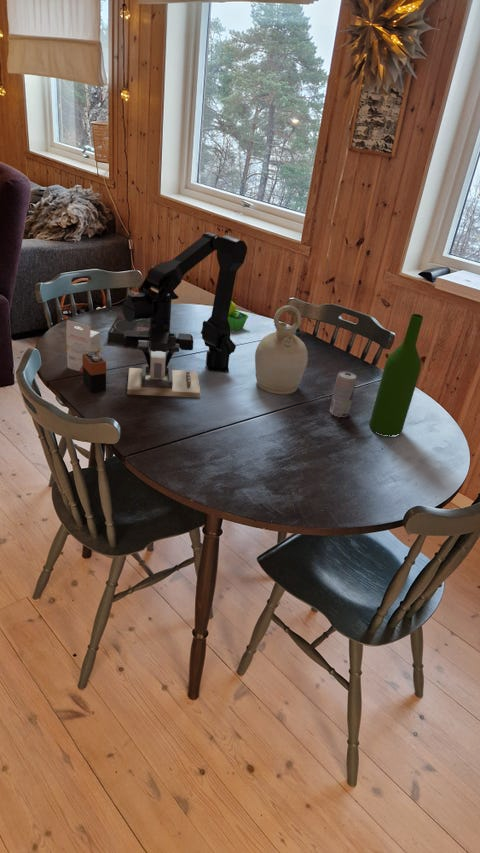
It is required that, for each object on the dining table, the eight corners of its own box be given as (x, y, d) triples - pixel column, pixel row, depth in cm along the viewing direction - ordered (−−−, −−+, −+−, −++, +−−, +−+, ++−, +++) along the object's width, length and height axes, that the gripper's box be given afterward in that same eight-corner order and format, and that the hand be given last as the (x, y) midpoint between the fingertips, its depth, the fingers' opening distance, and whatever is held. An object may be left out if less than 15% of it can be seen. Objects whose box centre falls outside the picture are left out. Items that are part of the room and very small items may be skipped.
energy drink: (349, 411, 161) (358, 373, 155) (346, 419, 157) (355, 381, 151) (331, 407, 162) (339, 369, 156) (327, 414, 158) (336, 376, 152)
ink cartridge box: (101, 369, 166) (101, 322, 158) (91, 375, 162) (90, 327, 154) (77, 362, 168) (75, 315, 161) (66, 368, 164) (64, 319, 157)
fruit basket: (248, 328, 210) (251, 299, 205) (231, 333, 204) (235, 303, 199) (226, 319, 217) (229, 290, 211) (209, 323, 211) (212, 293, 205)
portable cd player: (160, 349, 185) (160, 338, 183) (108, 343, 184) (108, 332, 182) (166, 331, 199) (167, 321, 197) (117, 326, 198) (118, 315, 196)
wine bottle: (400, 424, 158) (434, 313, 142) (402, 440, 150) (437, 324, 134) (368, 418, 159) (398, 307, 143) (368, 433, 151) (399, 318, 135)
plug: (164, 369, 163) (165, 350, 160) (164, 379, 157) (165, 359, 154) (150, 368, 162) (151, 349, 159) (150, 378, 156) (150, 359, 153)
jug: (256, 371, 178) (267, 293, 166) (304, 380, 176) (319, 303, 164) (246, 391, 165) (258, 309, 152) (298, 401, 163) (314, 319, 151)
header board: (196, 375, 170) (197, 365, 168) (199, 397, 158) (201, 386, 156) (129, 372, 166) (129, 361, 165) (127, 394, 154) (127, 382, 153)
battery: (91, 394, 152) (90, 360, 147) (82, 383, 157) (81, 350, 152) (106, 392, 154) (106, 358, 149) (97, 381, 159) (97, 348, 154)
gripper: (123, 324, 143) (122, 379, 151) (196, 328, 146) (192, 382, 154) (125, 309, 152) (124, 362, 160) (193, 314, 156) (189, 365, 163)
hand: (157, 368), depth 159 cm, fingers closed on plug, 4 cm apart
